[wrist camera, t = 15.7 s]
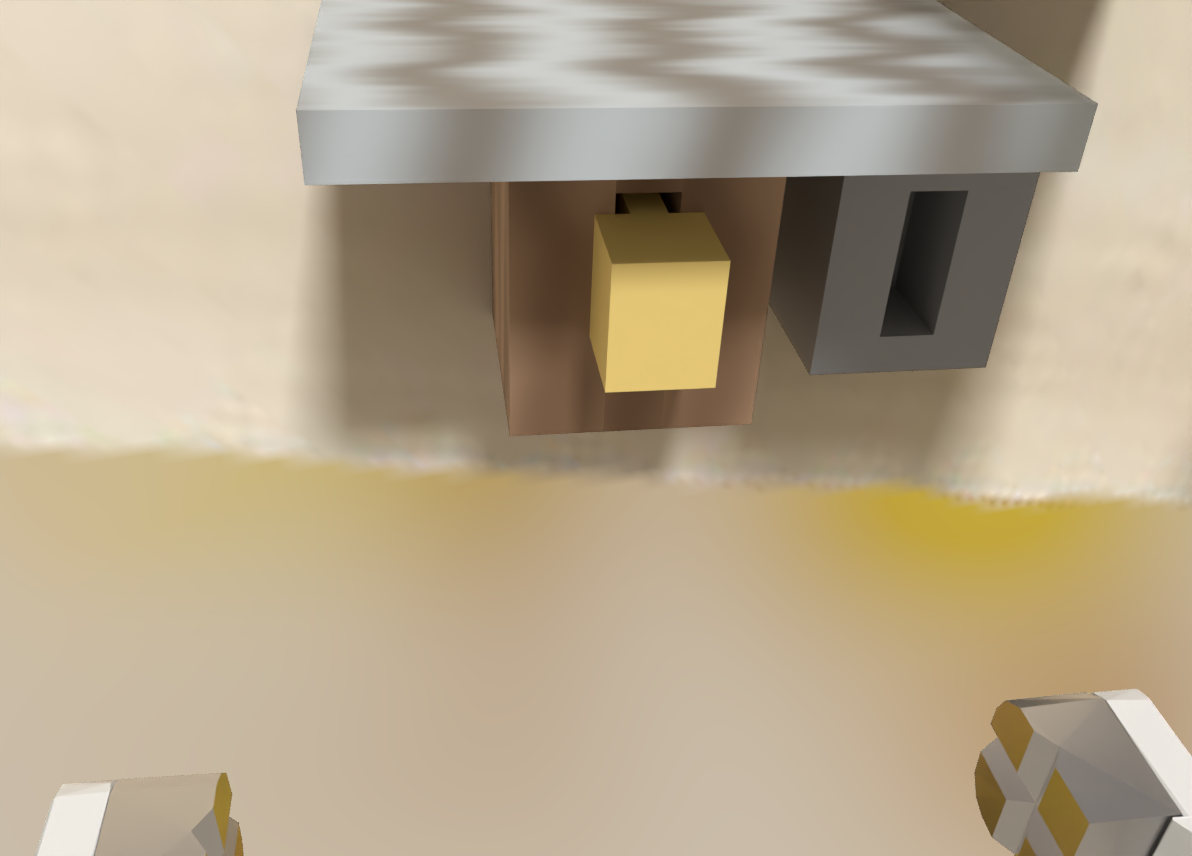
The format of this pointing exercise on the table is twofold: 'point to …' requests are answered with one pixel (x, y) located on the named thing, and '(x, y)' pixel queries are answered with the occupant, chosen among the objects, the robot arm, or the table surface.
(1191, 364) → the table surface
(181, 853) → the robot arm
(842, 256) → the dark gray slotted block
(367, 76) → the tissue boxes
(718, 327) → the yellow tabbed block
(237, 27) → the table surface
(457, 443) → the table surface
